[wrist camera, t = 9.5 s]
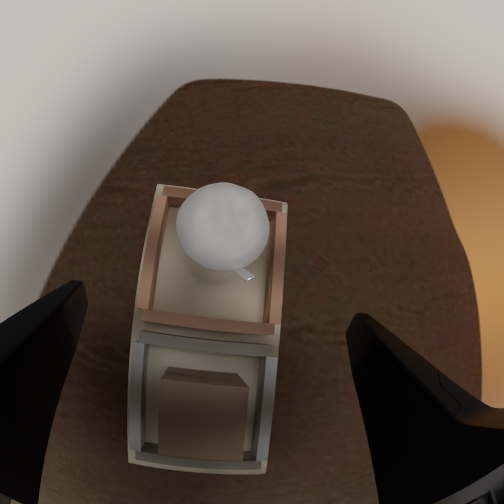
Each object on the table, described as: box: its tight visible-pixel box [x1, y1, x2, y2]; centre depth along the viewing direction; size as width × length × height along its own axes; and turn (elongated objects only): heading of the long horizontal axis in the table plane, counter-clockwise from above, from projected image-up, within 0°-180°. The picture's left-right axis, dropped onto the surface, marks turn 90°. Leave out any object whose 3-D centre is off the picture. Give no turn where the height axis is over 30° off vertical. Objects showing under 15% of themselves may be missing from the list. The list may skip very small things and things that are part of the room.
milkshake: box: [176, 182, 270, 282], centre depth 16 cm, size 4×5×10 cm
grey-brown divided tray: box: [127, 184, 287, 474], centre depth 18 cm, size 23×11×6 cm, turn 175°
